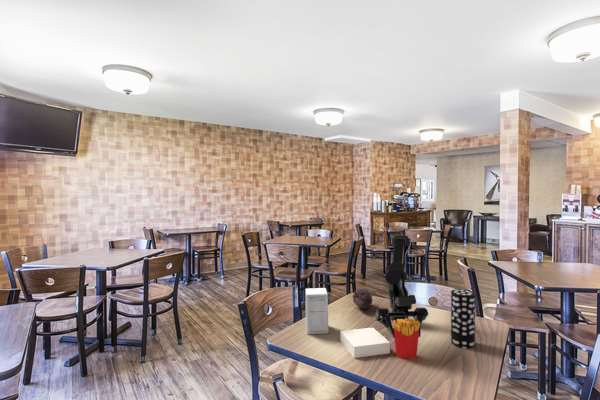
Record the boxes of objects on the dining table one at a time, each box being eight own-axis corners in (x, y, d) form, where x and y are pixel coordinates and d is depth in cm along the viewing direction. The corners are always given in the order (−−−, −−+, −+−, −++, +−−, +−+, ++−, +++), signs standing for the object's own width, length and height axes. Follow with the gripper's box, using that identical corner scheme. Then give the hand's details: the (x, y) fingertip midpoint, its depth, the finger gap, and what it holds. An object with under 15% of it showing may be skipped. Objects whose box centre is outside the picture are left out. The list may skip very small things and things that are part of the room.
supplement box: (326, 325, 147) (326, 287, 147) (329, 333, 138) (328, 293, 137) (305, 325, 147) (305, 287, 146) (306, 334, 138) (305, 294, 137)
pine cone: (371, 315, 158) (371, 294, 158) (350, 313, 160) (350, 293, 160) (373, 303, 175) (373, 285, 175) (354, 302, 178) (354, 283, 177)
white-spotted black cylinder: (472, 340, 130) (473, 290, 130) (476, 350, 122) (476, 296, 122) (449, 337, 133) (449, 288, 133) (452, 347, 125) (452, 294, 125)
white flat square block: (372, 337, 134) (372, 327, 134) (389, 353, 121) (389, 342, 120) (340, 340, 131) (340, 331, 131) (354, 357, 117) (354, 346, 117)
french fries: (394, 358, 117) (394, 321, 117) (392, 352, 121) (392, 317, 121) (421, 358, 116) (421, 322, 116) (418, 353, 120) (418, 317, 120)
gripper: (377, 287, 123) (385, 328, 112) (426, 286, 124) (439, 327, 113) (372, 301, 131) (379, 340, 120) (418, 300, 132) (430, 340, 121)
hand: (406, 337), depth 118 cm, fingers open, 9 cm apart
